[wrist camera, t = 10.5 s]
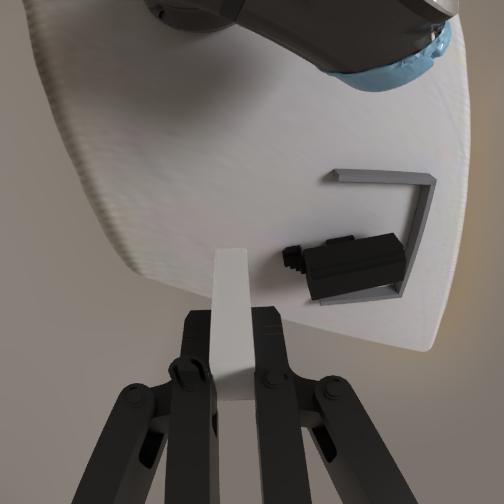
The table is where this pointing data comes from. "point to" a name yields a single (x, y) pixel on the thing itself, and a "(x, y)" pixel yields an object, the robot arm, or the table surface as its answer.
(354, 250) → the security camera
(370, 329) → the table surface
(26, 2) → the table surface
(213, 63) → the table surface
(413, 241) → the grey u-shaped frame
